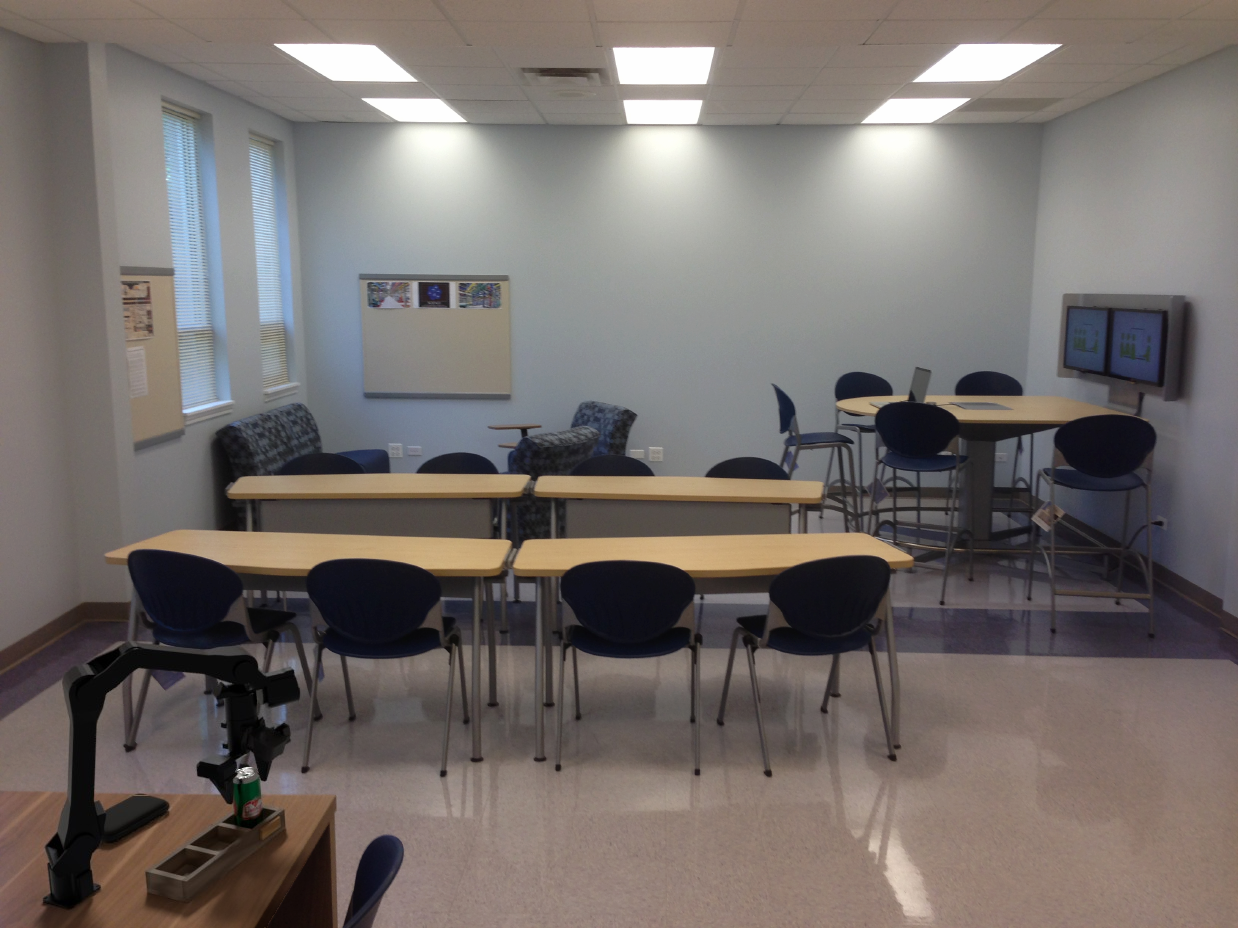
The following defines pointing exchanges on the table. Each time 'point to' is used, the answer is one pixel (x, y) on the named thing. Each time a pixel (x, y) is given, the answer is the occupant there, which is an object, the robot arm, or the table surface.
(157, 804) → the carrying case or bag
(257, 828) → the can rack
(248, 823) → the soda can
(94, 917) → the table surface
